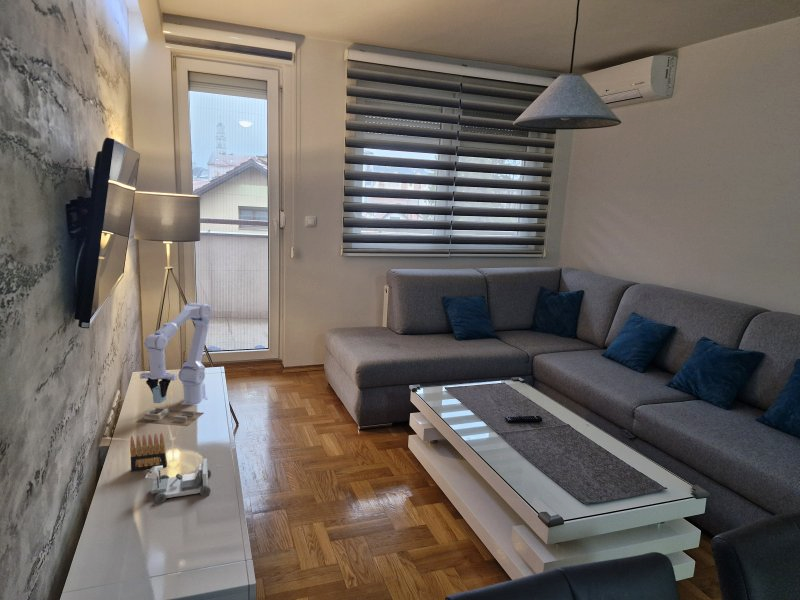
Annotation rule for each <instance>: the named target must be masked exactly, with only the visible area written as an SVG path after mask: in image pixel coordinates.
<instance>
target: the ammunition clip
mask: <svg viewBox="0 0 800 600" xmlns="http://www.w3.org/2000/svg"><path fill="white" fill-rule="evenodd" d="M159 435H160V436H159V438H158V434H157V433H154V437H153V438H152V434H151V433H149V434H148V438H147V437H146V435H145V434H143V436H142V444H141V439H140V436H139V435H137V436H136V440H135V439H134V437H133V436H132V435H131V436H130V439H129V441H130V442H129V443H130V445H129V446H130V447H129V450H130V472H141V471H147V470H146V469H148V470H149V471H150V469H151V468H152V467H154V466H155V467H156V466H162V465H163V469H164V468H166V467H167V466H168V461H167V454H166V444H165V439H164V434H163V433H162V432H160V434H159ZM147 439H148V440H147ZM135 441H136V443H135ZM147 441H148V442H147ZM147 443H148V444H147Z"/></svg>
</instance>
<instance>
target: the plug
mask: <svg viewBox="0 0 800 600" xmlns="http://www.w3.org/2000/svg"><path fill="white" fill-rule="evenodd" d="M152 390H153V394H152V399H153V401H152V402H153V404H162V403H163V402H165V401H167V395H166V396H165V397H162V395H161V388H160V385H159V384H158V386H156V387H154V388H153V389H152Z"/></svg>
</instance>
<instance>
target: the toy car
mask: <svg viewBox="0 0 800 600" xmlns="http://www.w3.org/2000/svg"><path fill="white" fill-rule="evenodd" d="M163 470H164V468H163V465H162V466H156V467H155V466H154V467H152V468H151V469H149V470H148V469H146V470H145V471H146V472H147V473H146V474H145V477H144V479H153V481H152V487H151V491H150V493H151V495H153V494H156V495H155V497H154V500H155V501H154V502H156V503H164V502H165V501H166V499H168V498H173V497H174V498H175V497H182V496H188V495H193V494H195V495H196V494H200V495H201V496H208V495H210V494H211V491H212V490H211V489H212V488H211V487H210V486H208V482H209V481H208V480H209V478H210V477H211V475H212V471H211V470H210V469H209V468H208V458H206V457H205V458H203V463H199V464H198V467H197V469H196V471H195V472H192V473H186V474H183V475H181V473H177V474H176V475H175V477H170V476H169V475H168V474H163V475H161V471H163Z"/></svg>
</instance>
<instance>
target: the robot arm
mask: <svg viewBox="0 0 800 600" xmlns="http://www.w3.org/2000/svg"><path fill="white" fill-rule="evenodd" d="M212 313H213V309H212V308H211V306H210V305H209V304H208V303H198V302H190V301H188V302H187V303H186V304H185V305H183V307H182V310H181V311H180V312H179V313H178V315H177V316H176V317H175V318H174V319H172V321H171V322H170V321H169V322H165V323H163V325H162V326H161V327H160V328H159V329H157V330H156V331H155V332H154V333H151V334H149V335H148V336H146V337H145V340H144V347H145V348H146V350H147V353H148V359H149V360H148V361H149V372H141V373H140V374H139V379H140V380H142V379H147V380H146V381H145V383H146V385H148V387H149V389H150V391H151V393H152V395H153V390H152V389H153V388H154V387H156V386H158V385H160V388H161V395H162V397H165V396H166V397H167V392H168V388H169V386H170V384H171V381H172V382H175V381H176V380H177V379H179V381H180V382H181V384H182V385H183V386H182V387H183V401H182V402H181V403H180V405H187V406H199V405H200V404H201V403H203V402H204V401H205V400H208V398H209V397H208V396H207V395H206V384H205V381H204V380H205V377H206V373H205V370H206V366H205V365H204V364H203V363H202V358H203V354H204V350H205V345H206V341H207V336H208V331H209V327H210V321H211V318H212ZM189 320H191V321H192V322H193V323H194V325H195V328H194V332H193V336H192V340H191V346H190V350H189V354H188V357H187V358H188V359H187V360H186V361H184V362H183V363H182V366H181V368H180V369H179V371H178V376H177V374H173V373H169V372H167V366H166V355H165V354H166V353H165V349H166V347H167V346H168V343H169V341H170V340H171V339H172V338H173V337H174V336H175V335H176V334H177V333H178V328H180V327H181V326H182V325H184V324H185V323H186V322H188V321H189ZM159 380H160V381H159Z"/></svg>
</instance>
